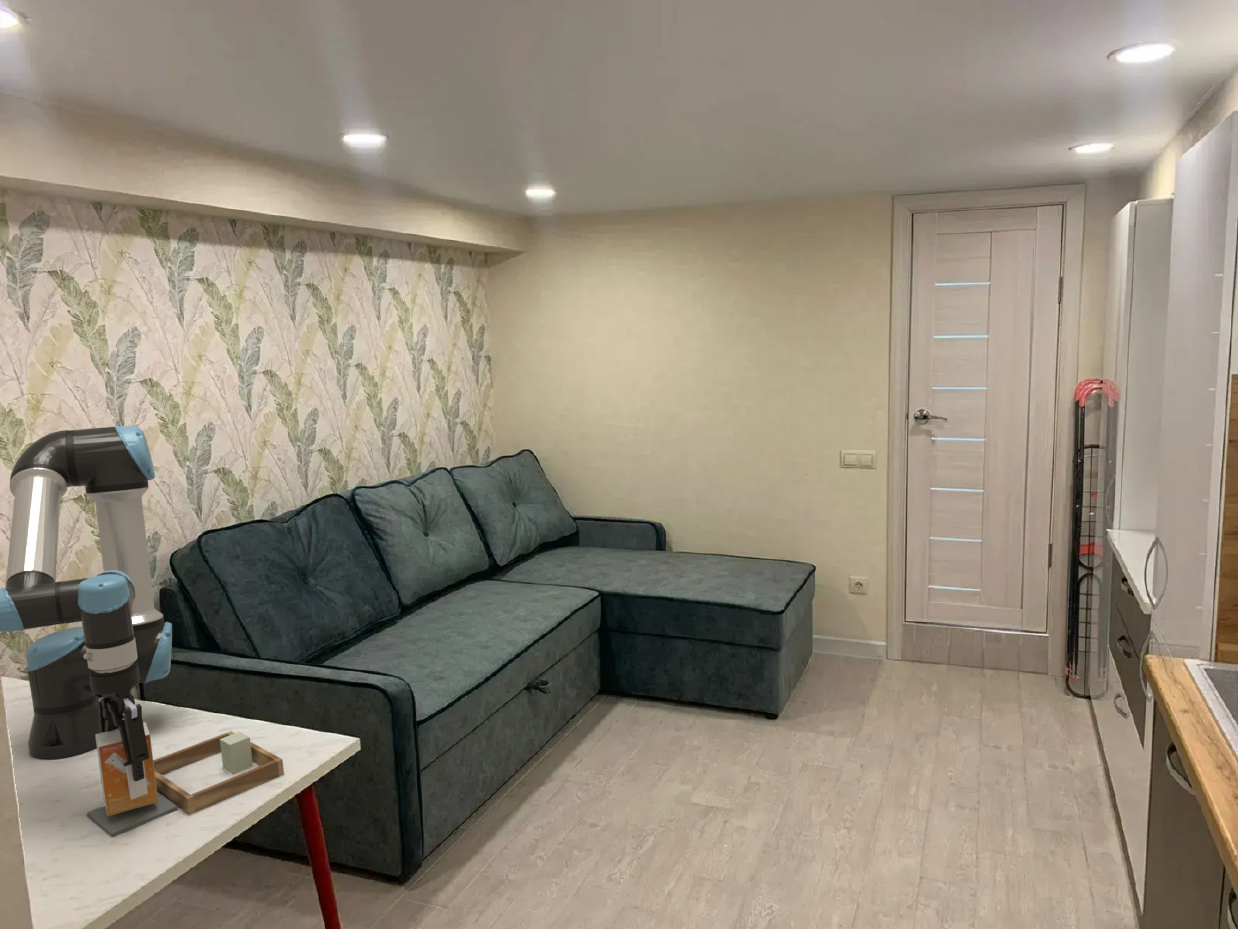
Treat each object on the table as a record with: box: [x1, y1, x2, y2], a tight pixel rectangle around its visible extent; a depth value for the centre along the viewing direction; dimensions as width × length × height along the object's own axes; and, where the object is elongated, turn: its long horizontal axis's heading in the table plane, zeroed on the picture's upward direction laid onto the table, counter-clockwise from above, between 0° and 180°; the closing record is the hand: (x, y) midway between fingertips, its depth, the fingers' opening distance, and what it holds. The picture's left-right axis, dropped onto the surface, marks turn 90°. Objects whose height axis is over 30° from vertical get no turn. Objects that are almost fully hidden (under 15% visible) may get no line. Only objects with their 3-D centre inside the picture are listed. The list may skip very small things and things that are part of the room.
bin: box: [153, 730, 285, 815], centre depth 175 cm, size 20×18×3 cm
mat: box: [86, 792, 179, 838], centre depth 164 cm, size 11×11×1 cm
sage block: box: [220, 731, 254, 775], centre depth 179 cm, size 4×4×6 cm
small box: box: [95, 721, 158, 816], centre depth 162 cm, size 8×6×13 cm
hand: (129, 788), depth 163 cm, fingers closed on small box, 7 cm apart
